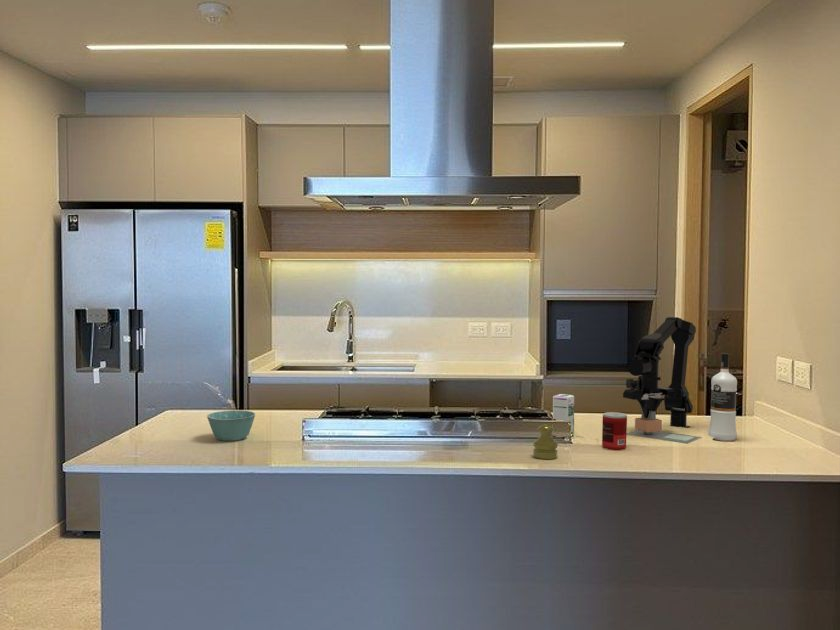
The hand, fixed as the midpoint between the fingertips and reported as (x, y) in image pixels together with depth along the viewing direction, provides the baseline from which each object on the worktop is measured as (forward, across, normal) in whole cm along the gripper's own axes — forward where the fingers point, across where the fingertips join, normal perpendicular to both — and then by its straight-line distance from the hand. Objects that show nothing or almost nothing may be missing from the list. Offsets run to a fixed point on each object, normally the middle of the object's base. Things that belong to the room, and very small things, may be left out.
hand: (648, 417), depth 262 cm
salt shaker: (+7, +52, +13) cm, 54 cm away
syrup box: (+7, +28, -10) cm, 31 cm away
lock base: (+7, -2, +5) cm, 9 cm away
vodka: (+7, -22, +13) cm, 26 cm away
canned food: (+7, +23, +10) cm, 26 cm away
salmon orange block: (+4, 0, 0) cm, 4 cm away
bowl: (+7, +137, -46) cm, 144 cm away
